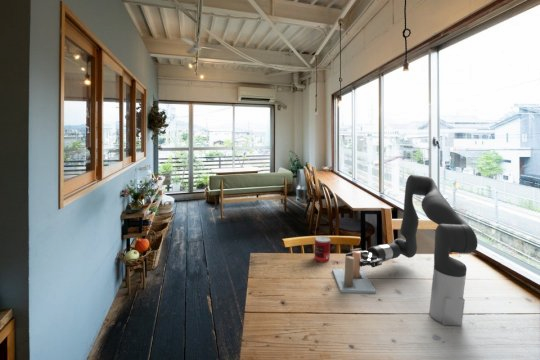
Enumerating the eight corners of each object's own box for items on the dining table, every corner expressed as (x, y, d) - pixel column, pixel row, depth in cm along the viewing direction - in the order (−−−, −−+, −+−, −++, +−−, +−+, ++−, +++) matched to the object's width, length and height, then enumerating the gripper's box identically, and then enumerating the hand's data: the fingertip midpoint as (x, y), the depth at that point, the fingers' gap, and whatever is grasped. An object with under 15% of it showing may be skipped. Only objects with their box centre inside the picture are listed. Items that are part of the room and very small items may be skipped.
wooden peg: (360, 280, 121) (361, 254, 119) (352, 279, 121) (353, 253, 119) (358, 276, 124) (359, 250, 123) (350, 276, 125) (351, 250, 123)
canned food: (328, 256, 146) (329, 236, 144) (330, 262, 138) (331, 241, 136) (314, 255, 146) (314, 235, 145) (314, 262, 138) (315, 241, 137)
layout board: (375, 293, 111) (377, 262, 109) (340, 292, 111) (342, 261, 109) (362, 271, 128) (364, 245, 127) (332, 271, 129) (333, 244, 127)
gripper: (368, 240, 133) (342, 246, 126) (393, 251, 121) (365, 258, 114) (367, 255, 135) (341, 261, 128) (392, 267, 122) (364, 275, 115)
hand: (352, 260), depth 121 cm, fingers open, 8 cm apart
